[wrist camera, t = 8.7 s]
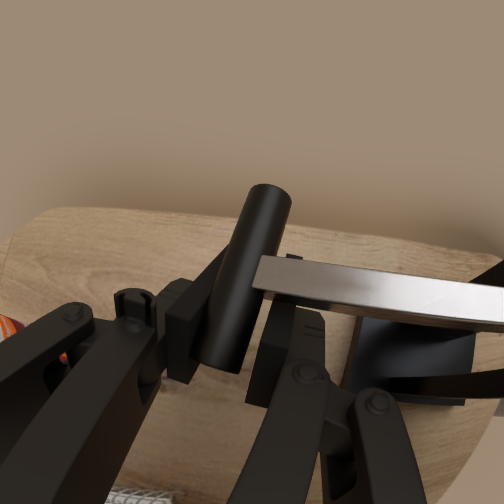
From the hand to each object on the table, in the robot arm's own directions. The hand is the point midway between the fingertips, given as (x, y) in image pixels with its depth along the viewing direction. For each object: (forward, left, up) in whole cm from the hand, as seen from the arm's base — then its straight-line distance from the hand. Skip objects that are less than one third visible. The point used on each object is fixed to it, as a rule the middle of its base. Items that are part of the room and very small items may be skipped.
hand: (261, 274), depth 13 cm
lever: (-6, +2, +5) cm, 8 cm away
